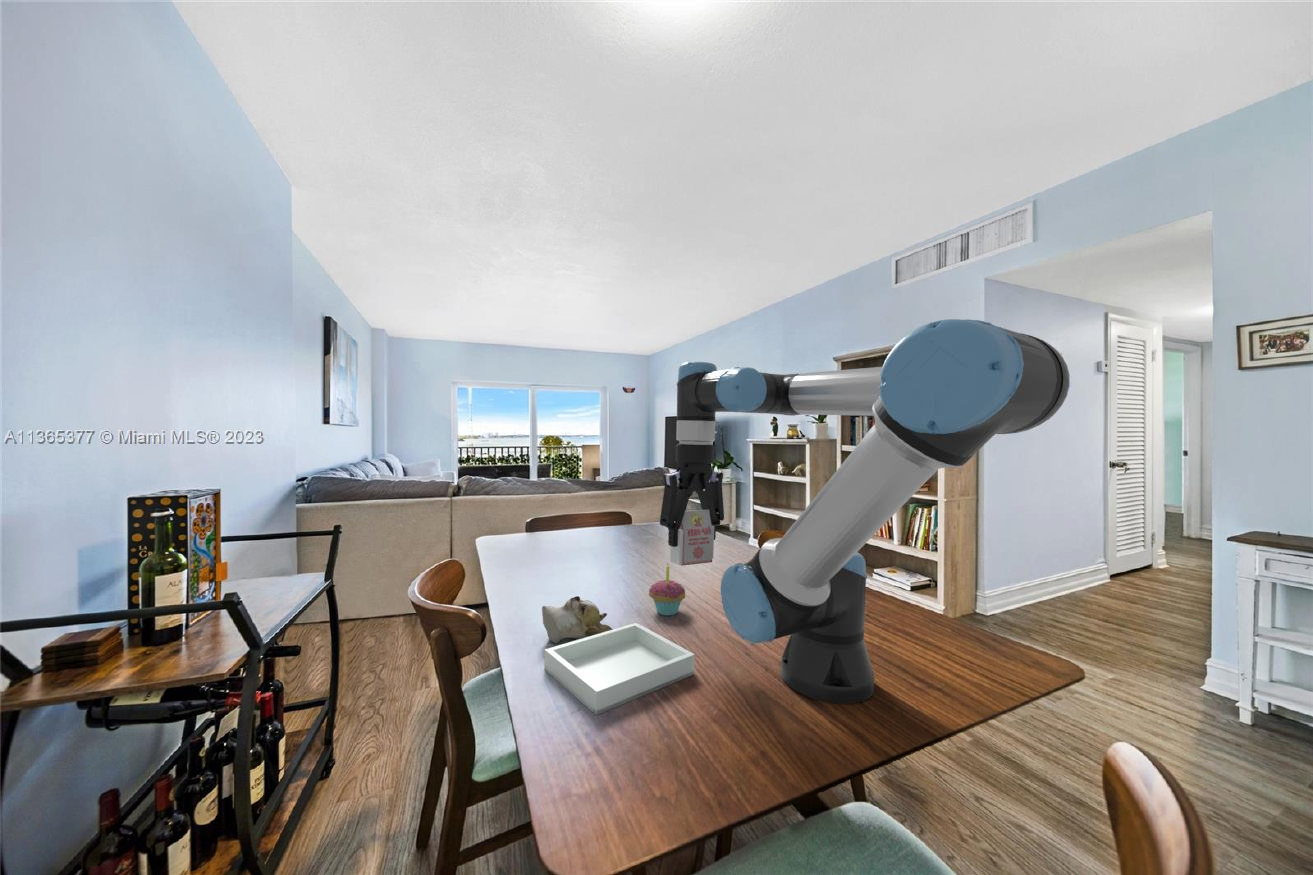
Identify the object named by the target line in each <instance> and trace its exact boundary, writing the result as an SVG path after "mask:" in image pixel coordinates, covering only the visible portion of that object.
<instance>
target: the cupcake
mask: <svg viewBox="0 0 1313 875" xmlns="http://www.w3.org/2000/svg"><path fill="white" fill-rule="evenodd" d="M665 571H666V572H665V579H663V580H659V581H657V582H655V583H654V584H652V585H651V586H650V588H649V589H648V590H649V593H648V596H649V597H650V598H651V599H653V602H654V605H655V607H656V612H657V613H658V614H659V615H662V616H674V615H676V614H677V613H678V611H679V610H680V605H681V602H682V600H684V599H685V598H686V589H685V587H684V586H683V585H682V584H681V583H678V582H676V581H674V580H671V579H670V565H669V563H668V562H667V565H666V570H665Z"/></svg>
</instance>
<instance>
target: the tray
mask: <svg viewBox="0 0 1313 875" xmlns="http://www.w3.org/2000/svg"><path fill="white" fill-rule="evenodd" d="M612 629H613V630H610V631H606V632H603V633H600V634H596V635H593V636H589V637H586V638H583V639H576V640H572V641H569V642H566V643H563V644H559V645H556V646H552V647H549V648H545V649H544V669H543V670H545V671H546V673H548V674H549V675H550V676H551V677H552V678H554V679H555V680H556V681H557V682H558V683H559V684H560V685H561V686H563V688H565V689H566V690H567V691H568V692H569V693H571V695H573V696H574V697H575V699H577V700H578V701H579V702H581V704H583V705H584V706H585V707H586V708H588V710H589V711H591V712H592V713H593V714H594V715H595V716H598V715H600V714H603V713H605V712H607V711H610V710H613V709H615V708H617V707H620V706H621V705H624V704H626V703H630V702H632V701H634V700H636V699H639V698H641V697H643V696H646V695H648V694H650V693H654V692H655V691H657V690H660V689H662V688H665V687H667V686H670V685H672V684H675V683H678V682H680V681H682V680H684V679H686V678H688V677H691V676H693V675H695V661H696V660H695V658H696V657H695V656H696V655H695V653H694V652H691V651H689V650H687V649H686V648H684V647H682V646H680V645H678V644H676V643H674V642H673V641H671V640H669V639H667V638H665V637H663V636H662V635H660V634H658V633H656V632H654V631H652V630H650V629H649V628H647V627H645V626H643V625H642V624H640V623H638V622H635V623H630V624H627V625H624V626H621V627H617V628H612Z"/></svg>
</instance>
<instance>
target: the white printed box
mask: <svg viewBox="0 0 1313 875" xmlns="http://www.w3.org/2000/svg"><path fill="white" fill-rule="evenodd" d="M679 529H681V530H683V556H682V564H681V565H680V566H690V565H692V566H693V565H699V564H700V565H701V564H707V563H708V564H709V563H713V558H712V554H713V555H714V551H713V529H712V524H711V519H710V512H709V510H702V509H698V510H697V509H695V510H693V509H692V510H685V513H684V516H683V519H682V523H681V526H680V528H679Z"/></svg>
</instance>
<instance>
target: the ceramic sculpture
mask: <svg viewBox="0 0 1313 875" xmlns="http://www.w3.org/2000/svg"><path fill="white" fill-rule="evenodd" d="M541 610H542V611H541V613H542V614H541V616H542V624H543V627H544V628H545V631H546V635H547V637H548V640H550V641H551V642H552V643H555V644H557V643H560V642H561V640H563V639H565V638H566V639H567V638H568V639H569V638H572V639H576V640H579V639H583V638H586V637H589V636H593V635H596V634H600V633H603V632H606V631H610V630H613V629H614V628H612V627H611V626H609V625H608V624H603V623H601V622H602V621H603V620H604V619H605V618H606V617H607V616H608V613H606V612H603V613H600V612H601V611H600V609H599V608H598V606H597V605H596V604H594V602H592V601H590V600H588V599H587V600H582V599H581V597H580V596H577V595H576V596H574V597H571V598H569V599H567V600H566V602H565V603H564V605H563V606H560V607H557V606H555V607H554V606H550V605H548V606H547V605H543V606H542V608H541Z"/></svg>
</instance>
